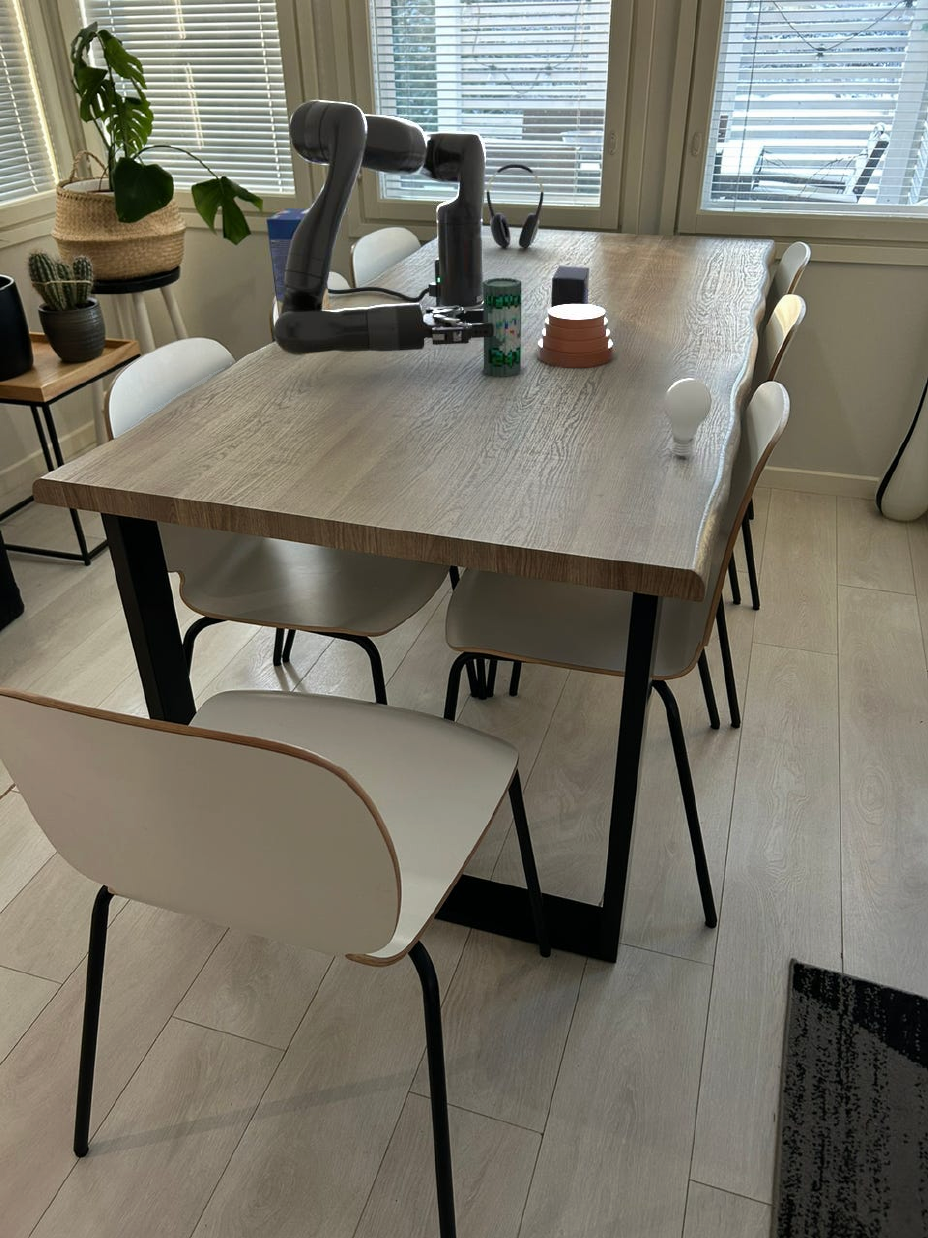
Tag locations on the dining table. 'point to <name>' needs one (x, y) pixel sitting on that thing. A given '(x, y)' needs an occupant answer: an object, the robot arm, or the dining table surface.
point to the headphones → (500, 224)
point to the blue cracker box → (285, 249)
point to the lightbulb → (686, 412)
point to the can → (502, 326)
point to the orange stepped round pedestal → (575, 337)
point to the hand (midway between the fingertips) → (490, 322)
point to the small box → (570, 286)
